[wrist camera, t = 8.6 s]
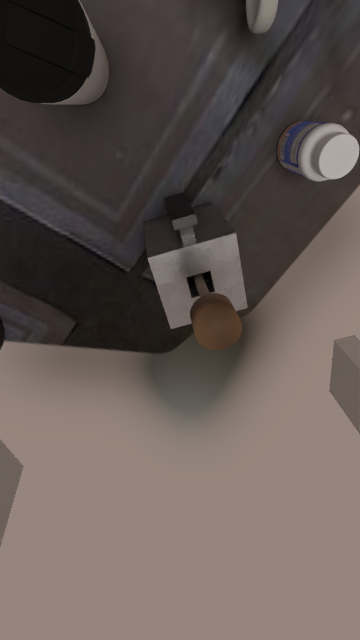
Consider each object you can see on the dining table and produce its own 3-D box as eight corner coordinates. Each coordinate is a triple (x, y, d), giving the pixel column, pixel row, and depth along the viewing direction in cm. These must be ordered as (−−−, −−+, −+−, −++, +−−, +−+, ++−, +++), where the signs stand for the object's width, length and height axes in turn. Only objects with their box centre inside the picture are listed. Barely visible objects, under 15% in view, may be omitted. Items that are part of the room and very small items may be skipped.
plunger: (170, 279, 44) (189, 369, 29) (156, 234, 40) (170, 310, 25) (216, 266, 44) (260, 349, 29) (207, 219, 40) (252, 287, 25)
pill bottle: (327, 146, 39) (377, 156, 31) (291, 180, 41) (329, 198, 33) (304, 108, 37) (352, 109, 29) (266, 146, 39) (302, 157, 31)
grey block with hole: (162, 281, 47) (170, 329, 37) (137, 203, 40) (139, 235, 30) (222, 264, 46) (247, 307, 37) (207, 182, 40) (232, 208, 30)
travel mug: (105, 115, 35) (81, 125, 18) (40, 90, 33) (-50, 75, 17) (119, 45, 32) (106, -20, 15) (49, 12, 30) (-52, -102, 13)
